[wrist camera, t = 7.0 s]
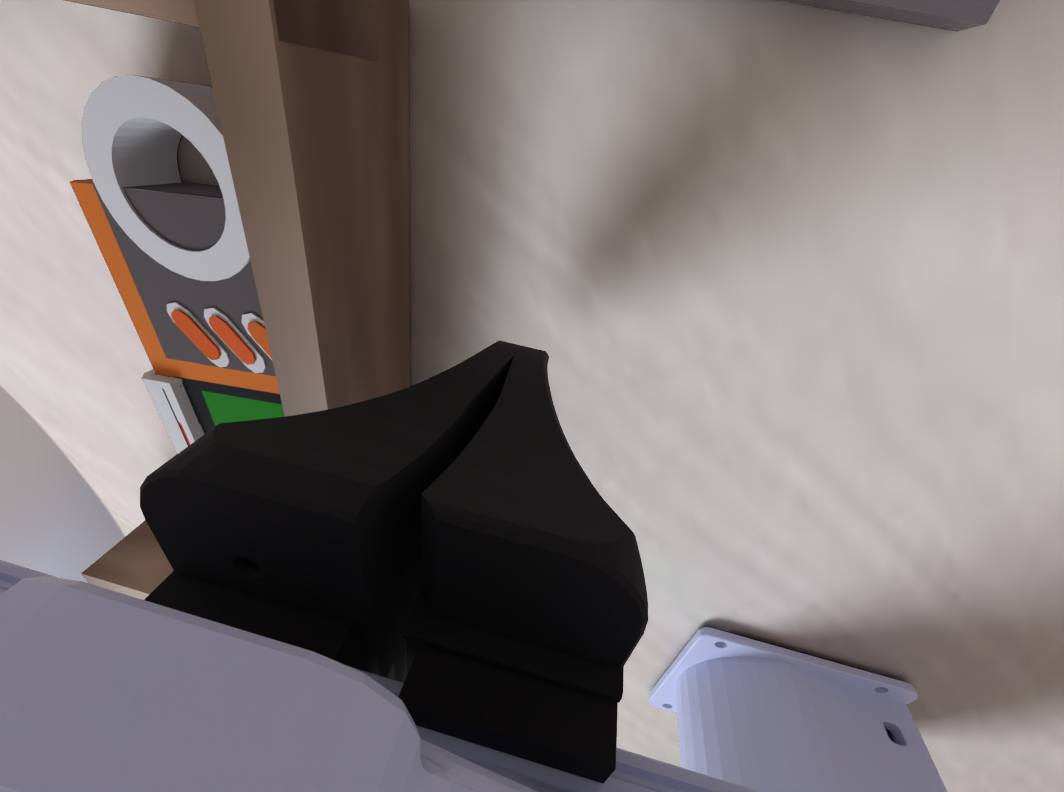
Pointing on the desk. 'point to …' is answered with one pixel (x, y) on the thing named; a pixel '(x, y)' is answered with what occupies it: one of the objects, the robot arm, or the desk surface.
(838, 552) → the desk surface
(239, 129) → the dolly
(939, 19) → the track
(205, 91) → the electronic device
